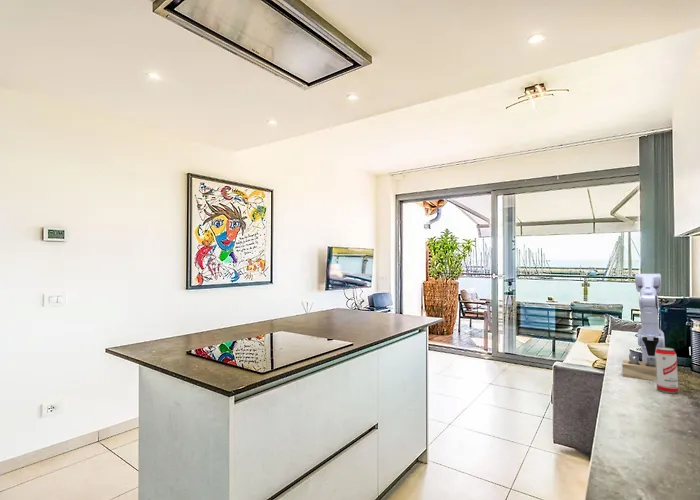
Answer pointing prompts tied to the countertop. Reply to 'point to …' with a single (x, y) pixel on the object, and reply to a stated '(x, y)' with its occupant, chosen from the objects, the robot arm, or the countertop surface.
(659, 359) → the beer can
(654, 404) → the countertop surface
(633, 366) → the housing
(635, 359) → the peg
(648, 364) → the peg
